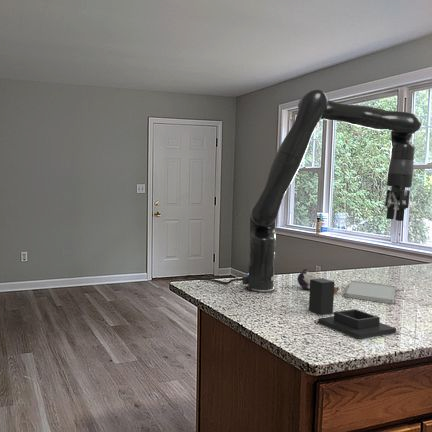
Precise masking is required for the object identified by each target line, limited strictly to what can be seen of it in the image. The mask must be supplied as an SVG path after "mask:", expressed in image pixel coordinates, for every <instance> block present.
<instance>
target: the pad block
mask: <svg viewBox="0 0 432 432" xmlns="http://www.w3.org/2000/svg"><path fill="white" fill-rule="evenodd" d="M334 284H335V280H330V279H326V278H323V277H321V278H320V277H318V279H310V289H309V297H308V298H309V299H308V311H310V312H312V313H314V314H317V315H320V316H322V315H323V316H324V315H330V314H334V298H335V297H334V296H335V293H334V287H335V285H334Z"/></svg>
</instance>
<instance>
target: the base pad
mask: <svg viewBox="0 0 432 432" xmlns="http://www.w3.org/2000/svg"><path fill="white" fill-rule="evenodd" d="M380 320H381V317H380V316H377V315H374V314H371V313H368V312H365V311H362V310H359V309H357V308H353V309H346V310H345V309H344V310H337V311H333V315H332V316H327V317H320V318H318V319H317V323H318V324H321V325H323V326H326V327H328V328H331V329H333V330H335V331H338V332H339V333H343V334H345V335H348V336H350V337H353V338H355V339H357V340H361V339H368V338H372V337H377V336H384V335H389V334H396V333H397V327H394V326H390V325H388V324H385V323H382V322H380Z"/></svg>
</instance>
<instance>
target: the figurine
mask: <svg viewBox="0 0 432 432" xmlns="http://www.w3.org/2000/svg"><path fill="white" fill-rule="evenodd" d="M296 279H297V283H298V285H299V286H300V287H301V288H302V289H304V290H310V279H319V276H318V275H317V274H316V273H314V272H310V271H309V270H308V269H307V268H304V269H303V270H302V272H300V273H299V274H298V275H297V278H296ZM339 290H340V286H336V283H334V295H336V294H337V293H338V292H339Z"/></svg>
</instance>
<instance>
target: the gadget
mask: <svg viewBox="0 0 432 432" xmlns="http://www.w3.org/2000/svg"><path fill="white" fill-rule="evenodd" d="M397 290H398V285H395V284H386V283H379V282H371V281H363V280H353V279H352V280H350V281H349V284H348V286H347V289H346V292H345V294H344V297H345V298H351V299H358V300H364V301H372V302H378V303H386V304H390V305H391V304H392V305H393V304H394V300H395V295H396V291H397Z"/></svg>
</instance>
